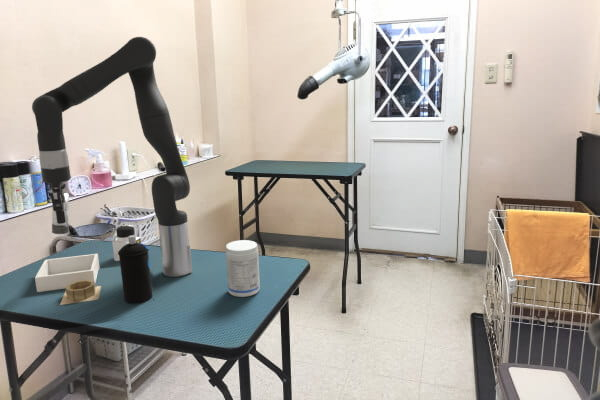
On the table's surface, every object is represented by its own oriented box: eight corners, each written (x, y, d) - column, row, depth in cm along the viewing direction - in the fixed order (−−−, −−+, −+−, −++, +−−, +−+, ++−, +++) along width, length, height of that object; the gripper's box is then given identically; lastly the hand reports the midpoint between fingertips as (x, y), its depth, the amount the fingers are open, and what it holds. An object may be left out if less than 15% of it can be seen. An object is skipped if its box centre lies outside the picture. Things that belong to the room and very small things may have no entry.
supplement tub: (230, 284, 149) (227, 239, 145) (261, 284, 148) (259, 239, 145) (225, 298, 139) (222, 250, 136) (258, 298, 139) (256, 250, 135)
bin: (99, 270, 163) (97, 253, 161) (95, 288, 148) (93, 270, 147) (47, 276, 158) (45, 259, 157) (37, 296, 143) (34, 277, 142)
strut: (55, 229, 147) (55, 185, 145) (70, 230, 148) (71, 186, 145) (49, 233, 143) (49, 188, 140) (65, 234, 144) (66, 189, 141)
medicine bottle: (132, 262, 170) (128, 229, 167) (114, 261, 171) (110, 229, 168) (142, 255, 176) (139, 223, 174) (125, 254, 178) (121, 223, 175)
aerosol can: (137, 311, 132) (129, 242, 128) (117, 305, 137) (109, 238, 132) (160, 300, 139) (153, 234, 134) (141, 294, 143) (134, 230, 139)
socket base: (101, 290, 147) (100, 276, 146) (99, 304, 137) (97, 289, 136) (66, 295, 144) (64, 281, 143) (60, 309, 135) (58, 294, 134)
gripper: (44, 162, 146) (52, 216, 150) (36, 170, 133) (45, 228, 137) (71, 160, 149) (78, 213, 153) (65, 168, 136) (73, 226, 140)
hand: (62, 220), depth 145 cm, fingers closed on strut, 4 cm apart
